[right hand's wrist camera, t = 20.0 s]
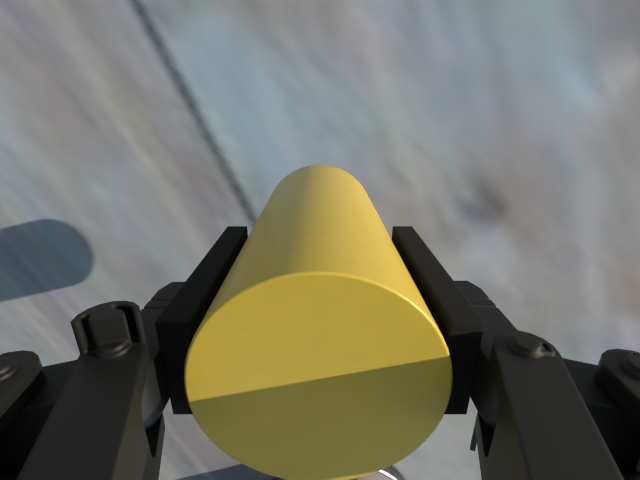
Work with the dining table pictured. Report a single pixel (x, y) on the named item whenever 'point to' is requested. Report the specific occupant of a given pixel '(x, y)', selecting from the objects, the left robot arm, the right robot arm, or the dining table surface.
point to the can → (318, 341)
